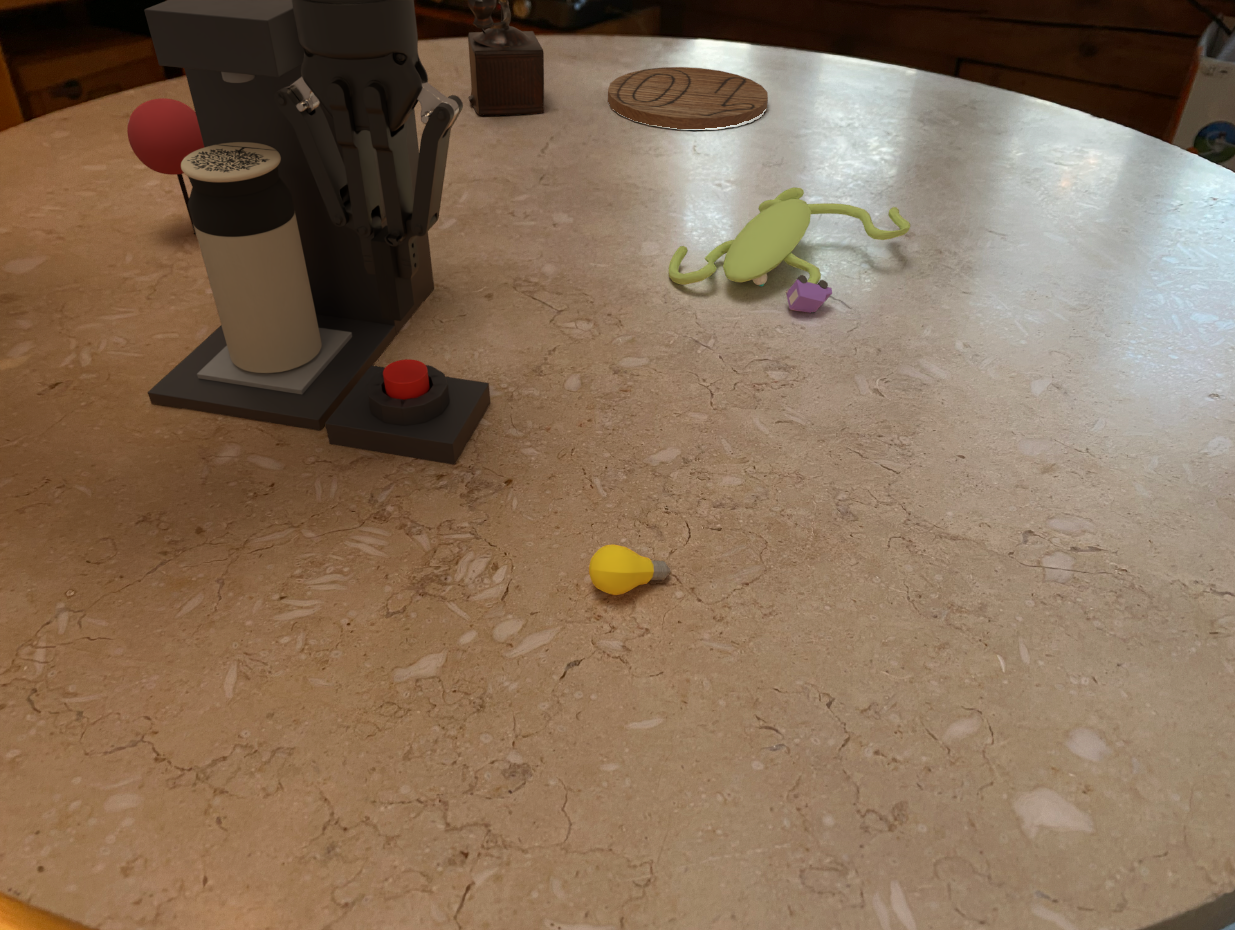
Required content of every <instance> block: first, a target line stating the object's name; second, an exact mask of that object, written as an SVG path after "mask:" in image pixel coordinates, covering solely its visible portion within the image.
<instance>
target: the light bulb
mask: <svg viewBox="0 0 1235 930" xmlns="http://www.w3.org/2000/svg"><path fill="white" fill-rule="evenodd" d="M588 574H589V578H590V580H591V583H592V584H593V586H594V587H595V588H596V589H598V590H599V591H601V592H603V593H606V594H609V595H613V596H617V595H618V596H619V595H624V594H626V593H627V592H629V591H631V590H633V589H635V588H637V587H638V586H641V585H647V584H648V583H649V582H650V581H664V580H666V579H667V577H668V576H669V575H670V574H671V568H670V566H669V565H668V564H667V562H666V561H664V560H651V558H649V557H647V556H643V555H640V554H639V553H637V552H636V551H634V550H632V549H630V548H629V547H627V546H622V545H619V544H614V543H613V544H611V543H610V544H605V545H603V546H601V547H600V548H598V549H597V550H596V552H595V553H593V555H592V557H591V558H590V561H589V565H588Z"/></svg>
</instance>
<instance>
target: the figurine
mask: <svg viewBox="0 0 1235 930" xmlns="http://www.w3.org/2000/svg"><path fill="white" fill-rule="evenodd" d="M804 190H805V189H803V188H801V187H795V186H794V187H791V188H788V189H785V190H784V191H782V192H781V193H779V194H778V195H777V196H776V197H775V198H774V199H767V200H764V201H762V202H761V203H760V204H758V211H759V213H758V214H756V215H755V216H754V217H753V218H752V219H751V220H750V221H748V222H747V223H746V225H744V227H743V228H742V229H741V230H740V231H739V233H738V234H737V235H736V236H735V238H733V239H730V240H727V241H724V242H722V243H720V244H719V245H717V246H716V247H715V248H713V249H712V250H711V251H710V252H709V253H708V254H707V255H706V256H705V257H704V260H705V261H706V262H707V263H706V264H705V266H703V267H701V268H700V269H698V270H695V271H690V272H685V273H683V272H679V269H680V265H681V264H682V261H683V260H684V258H685V257H686V256H687V254H688V251H689V250H688V248H687V246H685V245H681V246H679V247H678V248H677V249H676V251H675V252H674V253H673V255H672V257H671V259H670V261H669V265H668V277H669V279H670V280H671V281H672V282H673V283H675V284H677V285H682V286H687V285H692V284H696V283H700V282H702V281H704V280H706V279H708V278H710V277H711V276H712V275H714V274H715V273H716V272H717V267H716V265H715V262H717V261H718V259H720V258H721V257H723V256H724V261H723V265H722V270H723V272H724V274H725V277H726V279H728V280H729V281H730V282H731V281H732V282H735V283H745V282H748V281H752V282H753V283H754V284H755V285H756V286H759V287H763V286H764V285H765V284H766V283H767V280H768V273H769V272H771V271H772V270H774V269H776V268H777V267H779V265H780V264H781V263H782V262H785V264H787V265H788V266H790V267H793V268H796V269H799V270H801V271H804V272H807V273H808V276H809V278H808V277H807V276H805V275H804V274H800V275H798V277H796V280H795V281H794V282H793V283H792V285H790V287H789V288H788V290H785V295H786V299H787V304H788V309H789V310H792V311H797V312H805V313H810V314H812V313H811V312H815V313H816V312H817V311H818V310H819V309H820V307H822V305H823V304H824V303H825V302H826V301H827V300H828V299H829V298H830V297H831V295H832V294H833V288H832V287H829V284H828V282H827V281H826V280H824V279H821V278H822V273H821V270H820V268H819V267H818V266H816V265H814V264H813V263H811V262H808V261H806V260H804V259H802V258H800V257H797V256H796V255H795V254H794V253H793V251H794V249H796V247H797V245H798V244H799V243H800V242H801V240H802V239H803V238H804V236H805V234H806V232H807V230H808V228H809V226H810V223H811V217H812V215H843V216H848V217H851V218H855V219H858V220H859V221H860V222H861V223H862V225H863V228H864V231H865V233H866V235H867V236H868V237H869V238H871V239H873V240H879V241H886V240H892V239H895V238H898V237H902V236H904V235H906V234H907V233H908V232H909V231H910V228H911V223H910V222H909V221H908V220H907V219H905V218H904V217H903V216H902V215H901V214H900V209H899V208H898V207H897V206H892V207H891V208H890V209H889V210H888V215H887V216H888V217H889V219H890V220H891V221H892V222H893V223H894V225H896V227H898V229H897V230H885V229H880V228H878V227H876V226H875V224H874V223H873V221H872V217H871V214H870V213H869V212H868V211H867V210H866V209H865V208H861V207H858V206H854V205H852V204H845V203H832V202H831V203H830V202H829V203H828V202H827V203H823V202H822V203H821V202H820V203H807V202H806V201H805V200H803V199H801V198H803V196H804V194H805V192H804Z"/></svg>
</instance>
